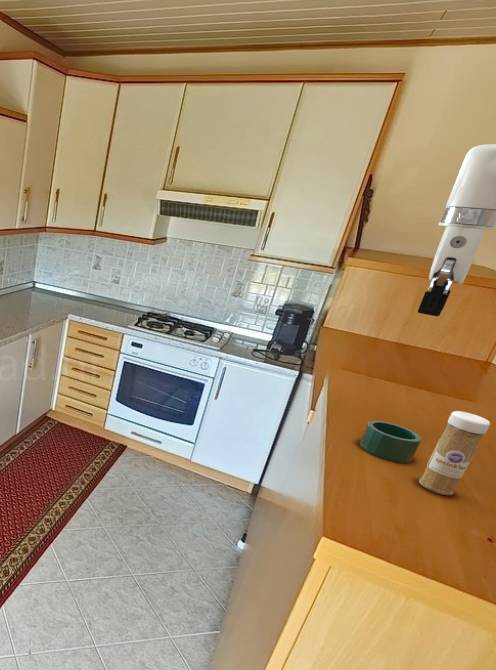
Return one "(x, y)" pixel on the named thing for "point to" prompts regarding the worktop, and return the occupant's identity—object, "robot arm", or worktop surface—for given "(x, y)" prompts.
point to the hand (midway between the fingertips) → (430, 311)
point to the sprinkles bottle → (454, 452)
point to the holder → (390, 441)
